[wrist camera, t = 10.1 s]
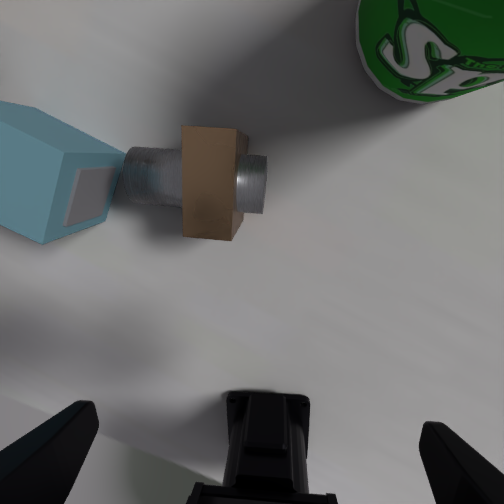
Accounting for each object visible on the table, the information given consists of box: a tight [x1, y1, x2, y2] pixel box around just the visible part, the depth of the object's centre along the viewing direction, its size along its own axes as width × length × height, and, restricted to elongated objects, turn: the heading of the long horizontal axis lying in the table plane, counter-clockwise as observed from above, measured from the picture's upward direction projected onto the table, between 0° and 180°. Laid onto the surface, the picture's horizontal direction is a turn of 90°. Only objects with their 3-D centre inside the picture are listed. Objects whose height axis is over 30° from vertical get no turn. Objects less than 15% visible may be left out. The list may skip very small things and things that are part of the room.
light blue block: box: [0, 101, 126, 244], centre depth 16 cm, size 6×5×6 cm
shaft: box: [123, 125, 267, 241], centre depth 15 cm, size 7×5×5 cm
